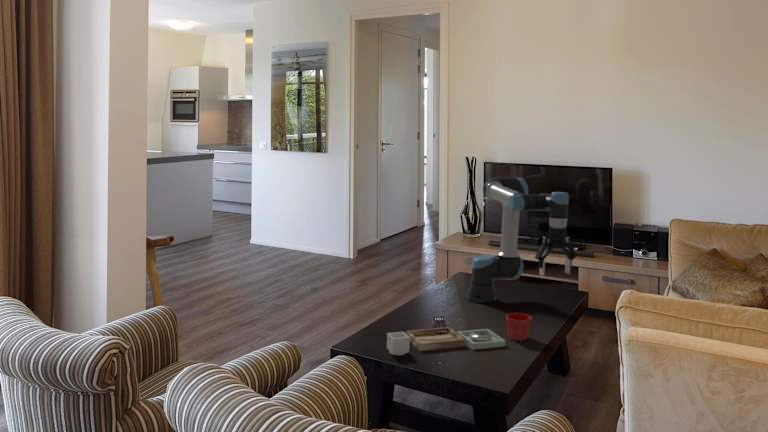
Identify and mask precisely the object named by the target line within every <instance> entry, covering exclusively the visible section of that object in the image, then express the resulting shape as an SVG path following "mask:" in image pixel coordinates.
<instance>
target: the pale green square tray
mask: <svg viewBox="0 0 768 432" xmlns="http://www.w3.org/2000/svg"><path fill="white" fill-rule="evenodd" d="M472 332H485V333H488V334H490V335H491V339H490V340H488V341H478V340H474V339H472V338H470V334H471V333H472ZM456 333H457V334H459V335H460V336H461V337H462V338H464V339H465V345H466V347H469V348H470V349H471V351H472V350H473V351H474V350H482V349H483V350H484V349H492V348H501V347H506V339H504V338H502V337H501V336H499V335H498V334H496V333H495V332H494V331H492V330H491V329H489V328H480V329H470V330H460V331H459V330H458V331H456Z"/></svg>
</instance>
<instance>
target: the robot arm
mask: <svg viewBox="0 0 768 432" xmlns="http://www.w3.org/2000/svg"><path fill="white" fill-rule="evenodd" d="M482 192H483V195H484V197H485V198H487V199H488V200H490V201H498V202H500V204H501V206H502V215H501V216H502V219H501V234H500V235H501V236H500V250H499V251H498V252H497V253H496V254H497V255H496V256H495V255H493V254H480V255H479V254H478V255H476V256H475V257H473V259H472V263H471V282H470V283H471V284H470V286H469V289H468V292H467V295H466V299H467V300H468V301H470V302H473V303H478V304H492V303H495V302H496V301H497V293H496V291H495V286H494V281H497V280H499V281H500V280H502V281H503V280H505V281H506V280H518V279H519V278H520V277H521V276H522V274H523V271H524V261H523V258H522V257H520V256H521V255H520V254H519V253H518V240H519V225H520V212H528V211H529V212H530V211H531V212H537V211H538V212H549V218H548V219H549V220H548V226H549V227H548V238H544V237H543V238H542V239H541V244H540V246H539V248H538V250H537V252H536V254H535V256H534V259H535V260H537V261H538V266H537V267H538V269H539V271H538V272H539V273H538V274H539V275H540V276H542V277H544V276H545V272H546V271H545V269H546V261H545V259H546V258H547V256H548V255H549V254H550V253H551V251H552V250H554V249H561V251H563V254H564V255H565V256H566V258H565V263H564V265H565V266H564V273H566V274H568V275H570V274H571V266H572V265H573V264H572V263H573V260H574V259H575V258H577V254H576V251H575V248H574V246H573V243H572V240H573V239H572V237H569V236H567V226H568V225H567V224H568V214H569V203H570V199H569V197H570V196H569V193H568V192H563V191H553V192H551V194H550V193H539V194H537V193H536V194H534V193H532V194H529V185H528V184H527V182H526V180H525V179H524V178H522V177H518V176H517V177H516V176H514V177H511V176H509V177H507V176H506V177H505V176H504V177H500V176H497V177H491V178H490V179H488V180H486V181H485V183H483V187H482ZM565 244H566V245H565Z"/></svg>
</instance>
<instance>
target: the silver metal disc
mask: <svg viewBox="0 0 768 432" xmlns="http://www.w3.org/2000/svg"><path fill="white" fill-rule="evenodd" d="M470 338H472V339H474V340H478V341H488V340H490V339H491V335H490V334H488V333H485V332H472V333H471V334H470Z"/></svg>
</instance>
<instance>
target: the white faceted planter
mask: <svg viewBox="0 0 768 432" xmlns="http://www.w3.org/2000/svg"><path fill="white" fill-rule="evenodd" d="M386 349H387V350H388V353H389V354H390V355H393V356H403V355H406V354H407V353H408V354H409V353H410V337H408V336H407V335H406V332H405V331H396V332H387V333H386Z"/></svg>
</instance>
